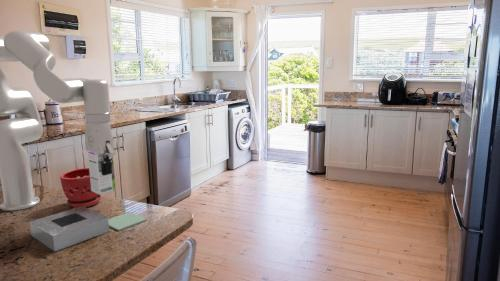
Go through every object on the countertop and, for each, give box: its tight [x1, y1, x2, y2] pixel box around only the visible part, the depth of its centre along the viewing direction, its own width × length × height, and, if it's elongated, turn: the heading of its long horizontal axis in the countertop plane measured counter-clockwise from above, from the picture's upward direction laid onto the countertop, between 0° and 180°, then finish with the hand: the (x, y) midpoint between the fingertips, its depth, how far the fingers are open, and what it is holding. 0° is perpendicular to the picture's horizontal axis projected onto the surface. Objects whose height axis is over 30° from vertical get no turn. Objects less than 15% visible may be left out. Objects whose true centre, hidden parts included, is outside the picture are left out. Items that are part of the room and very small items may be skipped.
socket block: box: [29, 206, 110, 252], centre depth 114 cm, size 16×16×4 cm
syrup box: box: [87, 150, 116, 196], centre depth 126 cm, size 6×6×14 cm
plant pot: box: [59, 167, 102, 208], centre depth 139 cm, size 13×13×12 cm
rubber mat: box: [108, 211, 148, 232], centre depth 123 cm, size 10×10×1 cm
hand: (101, 171), depth 126 cm, fingers closed on syrup box, 5 cm apart
